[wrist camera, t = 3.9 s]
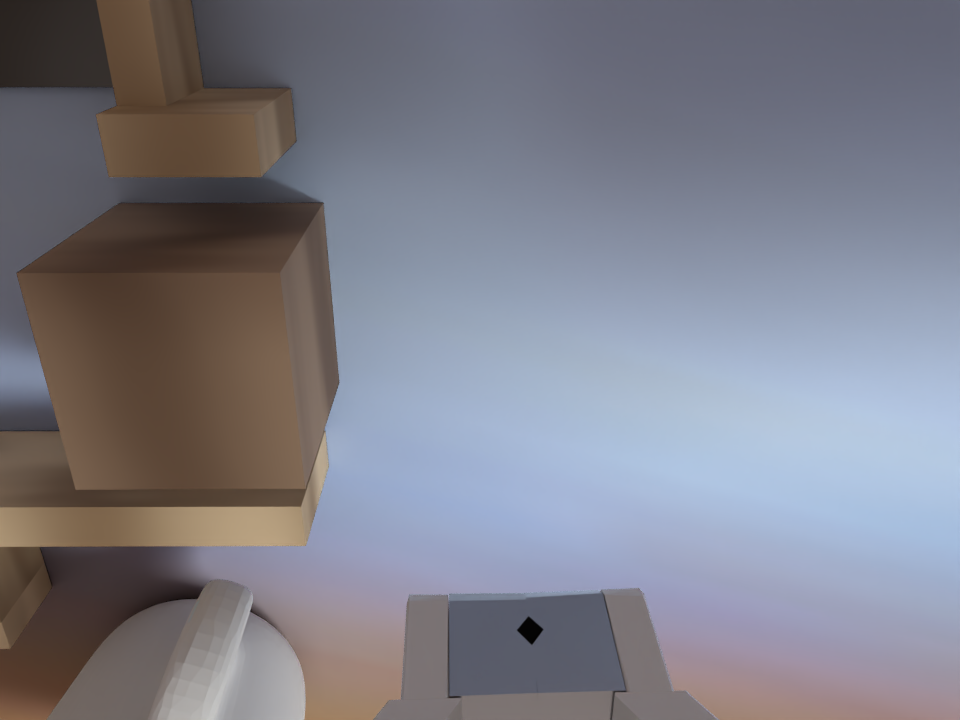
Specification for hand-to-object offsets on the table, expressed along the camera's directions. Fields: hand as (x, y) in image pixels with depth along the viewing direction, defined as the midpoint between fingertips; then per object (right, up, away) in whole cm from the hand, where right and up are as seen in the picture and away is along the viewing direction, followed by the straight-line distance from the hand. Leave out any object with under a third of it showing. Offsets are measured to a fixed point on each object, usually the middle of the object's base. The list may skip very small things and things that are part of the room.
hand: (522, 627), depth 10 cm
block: (-7, +5, +10) cm, 13 cm away
